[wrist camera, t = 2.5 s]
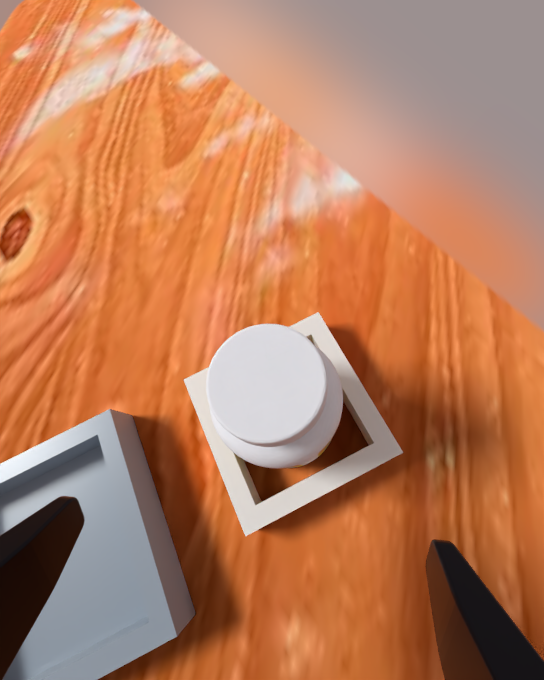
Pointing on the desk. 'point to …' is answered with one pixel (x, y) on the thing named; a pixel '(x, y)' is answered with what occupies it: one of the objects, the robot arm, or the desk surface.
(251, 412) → the supplement bottle
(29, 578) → the robot arm
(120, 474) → the tray
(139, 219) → the desk surface
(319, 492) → the holder collar
